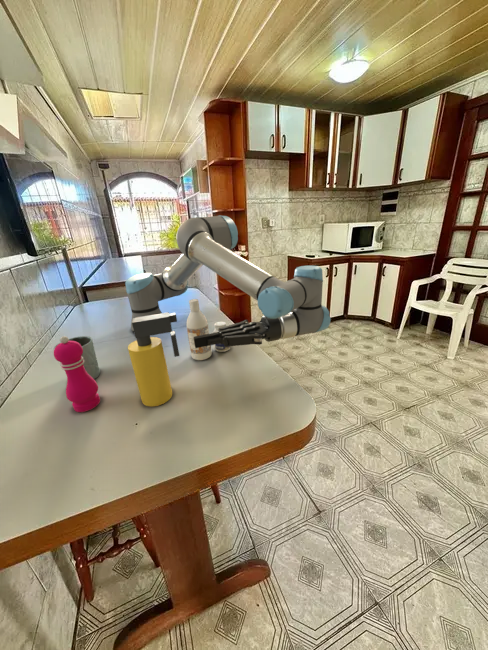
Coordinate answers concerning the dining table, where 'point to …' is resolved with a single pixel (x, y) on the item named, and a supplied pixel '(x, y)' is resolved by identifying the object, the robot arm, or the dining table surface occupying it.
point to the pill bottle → (220, 346)
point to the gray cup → (88, 355)
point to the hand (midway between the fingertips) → (194, 342)
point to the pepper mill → (76, 376)
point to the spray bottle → (151, 358)
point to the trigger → (174, 343)
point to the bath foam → (197, 331)
